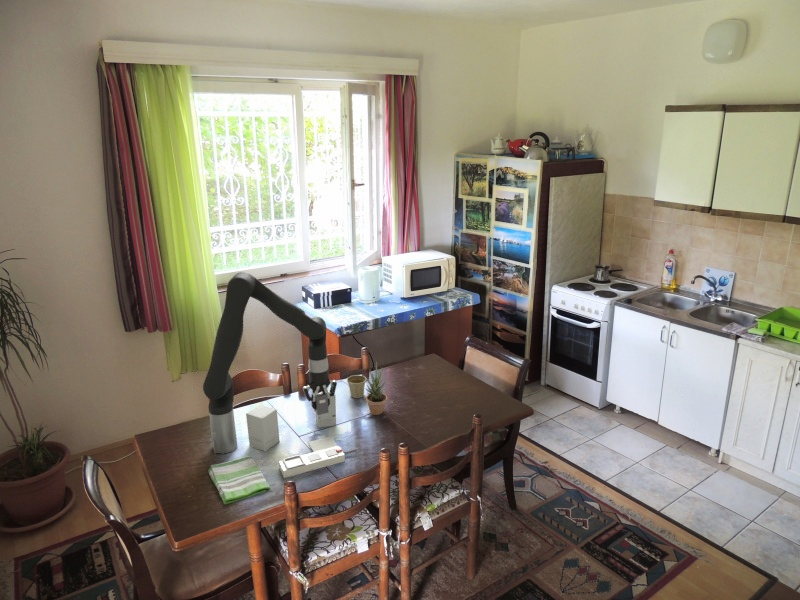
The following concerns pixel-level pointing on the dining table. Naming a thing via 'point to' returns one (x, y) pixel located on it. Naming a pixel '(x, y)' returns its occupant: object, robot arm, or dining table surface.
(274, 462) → the dining table surface
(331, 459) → the power strip
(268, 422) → the supplement box
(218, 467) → the dish towel
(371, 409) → the potted plant
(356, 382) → the flower pot
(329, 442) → the mat
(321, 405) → the charger
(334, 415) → the skincare box
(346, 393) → the dining table surface
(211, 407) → the robot arm
